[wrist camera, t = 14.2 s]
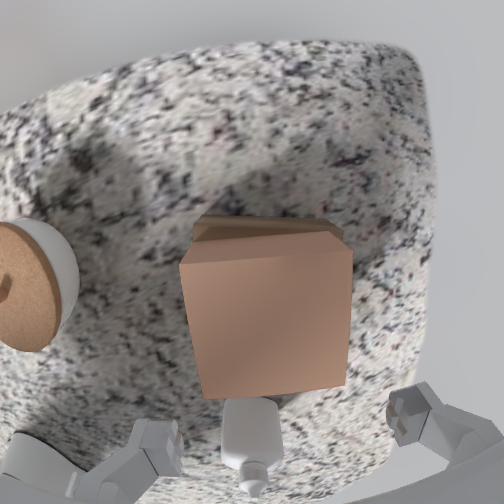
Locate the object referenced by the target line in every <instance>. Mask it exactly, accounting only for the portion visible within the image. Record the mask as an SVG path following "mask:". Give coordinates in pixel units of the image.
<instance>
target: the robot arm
mask: <svg viewBox="0 0 504 504" xmlns="http://www.w3.org/2000/svg"><path fill="white" fill-rule="evenodd" d="M389 400H390V402H391V403H390V404H389V405H388V406H387V409H386V420H387V423H388V425H389V427H390V428H391V429H393V430H395V433H394V437H395V439H396V441H397V443H398V445H399V447H401V446H405V445H408V444H411V443H414V442H417V441H419V443H421V444H422V445H424V446H425V447H427V448H429V449H430V450H432V451H434V452H435V453H437V454H439V455H440V456H442V457H444V458H445V459H447V460H448V461H450V462H449V464H448V466H447V468H446V469H445V470H444V471H442V472H440V473H437V474H435V475H432V476H430V477H428V478H425V479H423V480H420V481H417V482H415V483H412V484H410V485H407V486H404V487H401V488H398V489H395V490H392V491H389V492H386V493H382V494H379V495H376V496H372V497H369V498H365V499H361V500H357V501H354V502H349V503H345V504H504V436H503V435H502V434H501V432H500V431H499V430H498V428H497V427H496V426H495V425H494V423H493V422H492V421H491V420H488V419H485V418H482V417H479V416H477V415H474V414H472V413H469V412H466V411H463V410H461V409H458V408H456V407H453V406H450V405H448V404H446V405H443V403H442V402H441V400H440V399H439V398H438V397H437V395H436V394H435V393H434V391H433V390H432V389H431V387H430V386H429V385H428V384H427V382H421V383H418V384H415V385H411V386H408V387H405V388H401V389H398V390H394V391H391V393H390V395H389ZM5 448H6V451H5V453H4V455H3V458H2V460H1V462H0V504H134V503H135V502H136V501H137V500H138V499H139V498H140V497H141V496H142V495H143V493H144V492H145V491H146V490H147V489H148V488H149V487H150V486H151V485H152V484H153V483H154V482H155V481H156V480H157V479H158V478H159V477H158V476H167V477H180V472H181V466H182V463H181V461H180V458H181V457H182V456H183V454H184V441H183V437H182V434H181V433H180V432H178V424H177V422H176V420H171V419H145V418H138V419H137V420H136V421H135V423H134V426H133V429H132V432H131V434H130V437H129V440H128V443H127V446H126V447H122V448H121V449H119V450H118V451H117V452H115V453H114V454H112V455H111V456H110V457H108V458H107V459H106V460H104V461H103V462H101V463H100V464H99V465H97V466H96V467H94V468H93V469H91V470H90V471H89V472H85V471H84V470H82V469H80V468H78V467H76V466H75V465H73V464H72V463H71V462H70V461H68V460H67V459H66V458H65V457H64V456H62V455H61V454H60V453H58V452H57V451H56V450H54V449H53V448H51V447H50V446H48V445H46V444H45V443H43V442H41V441H40V440H38V439H36V438H34V437H31V436H29V435H26V434H22V433H14V434H13V435H12V437H11V440H10V441H9V442H7V443H6V445H5Z"/></svg>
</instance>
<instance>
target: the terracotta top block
mask: <svg viewBox="0 0 504 504" xmlns="http://www.w3.org/2000/svg"><path fill="white" fill-rule="evenodd" d="M179 271H180V277H181V284H182V290H183V296H184V302H185V308H186V313H187V319H188V324H189V330H190V335H191V340H192V345H193V350H194V355H195V360H196V365H197V370H198V375H199V379H200V384H201V388H202V393H203V397H204V400H205V399H231V398H247V397H260V396H271V395H281V394H290V393H298V392H306V391H313V390H320V389H327V388H333V387H339V386H345V379H346V370H347V359H348V348H349V335H350V321H351V302H352V276H353V250H352V249H351V248H350V247H348V246H347V245H346V244H345V243H343V242H342V241H341V240H339V239H338V238H337V237H335V236H334V235H333V234H332V233H330V232H329V231H320V232H307V233H294V234H281V235H269V236H257V237H245V238H233V239H221V240H210V241H198V242H193V243H192V244H191V246H190V247H189V249H188V251H187V252H186V254H185V255H184V257H183V259H182V260H181V262H180V263H179Z"/></svg>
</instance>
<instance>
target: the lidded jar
mask: <svg viewBox="0 0 504 504" xmlns="http://www.w3.org/2000/svg"><path fill="white" fill-rule="evenodd" d="M79 288H80V275H79V267H78V263H77V259H76V257H75V254H74V252H73V250H72V247H71V246H70V244H69V243H68V241H67V240H66V239H65V237H64V236H63V235H62V234H61V233H60V232H59V231H58V230H56V229H55V228H54V227H52V226H51V225H49V224H47V223H45V222H43V221H40V220H36V219H30V218H16V219H11V220H6V221H2V222H0V340H1V341H2V342H3V343H5V344H7V345H8V346H10V347H12V348H14V349H16V350H20V351H24V352H35V351H38V350H41V349H43V348H44V347H46V346H47V345H48V344H49V343H50V342H51V340H52V339H53V338H54V337H55V335H56V333H57V332H58V331H59V330H60V329H61V327H62V326H63V325H64V324H65V323H66V321H67V320H68V318H69V316H70V315H71V313H72V311H73V309H74V307H75V304H76V301H77V298H78V293H79Z"/></svg>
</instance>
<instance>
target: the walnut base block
mask: <svg viewBox="0 0 504 504" xmlns="http://www.w3.org/2000/svg"><path fill="white" fill-rule="evenodd" d="M320 231H329V232H330V233H332V234H333V235H334V236H335V237H337V238H338V239H339V240H341V241H342V239H343V230H341V229H340V228H338V227H337V226H335V225H334V224H332V223H330V222H329V221H327V220H326V219H311V218H289V217H263V216H231V215H202V216H201V217H200V218H199V219H198V221H197V222H196V223H195V224H194V225H193V242H198V241H210V240H221V239H233V238H245V237H257V236H269V235H281V234H294V233H307V232H320Z"/></svg>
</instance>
